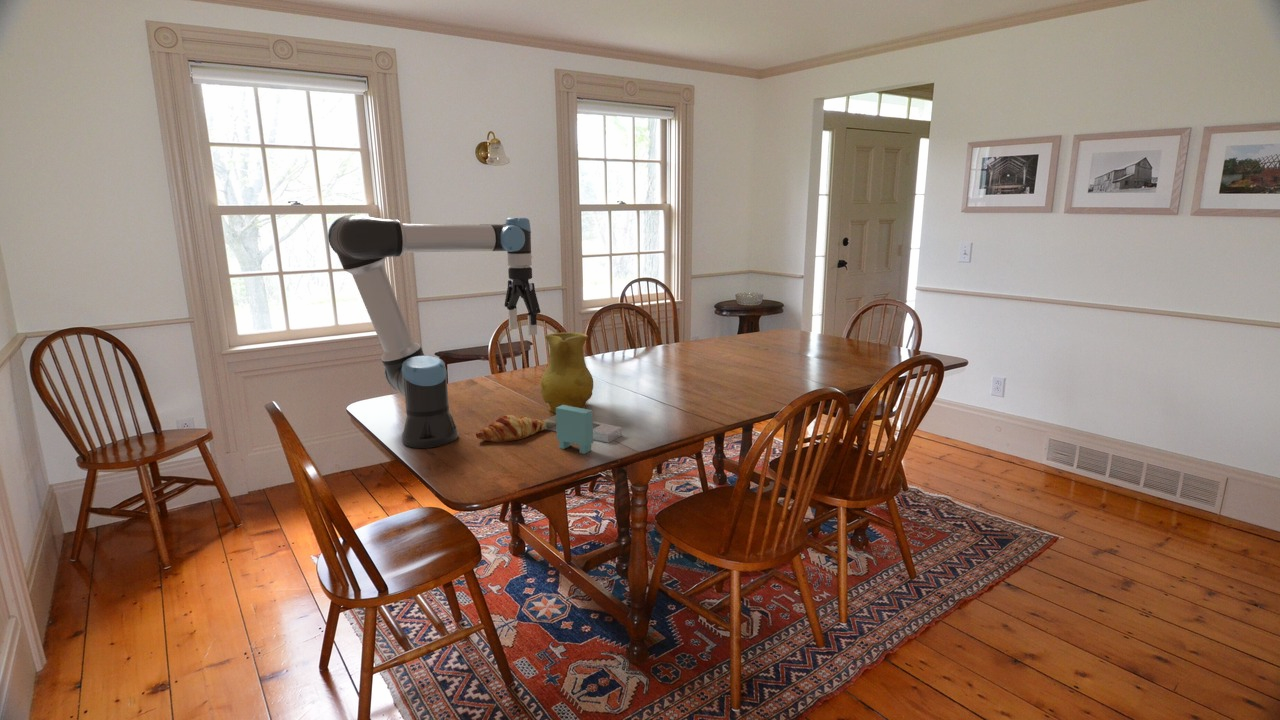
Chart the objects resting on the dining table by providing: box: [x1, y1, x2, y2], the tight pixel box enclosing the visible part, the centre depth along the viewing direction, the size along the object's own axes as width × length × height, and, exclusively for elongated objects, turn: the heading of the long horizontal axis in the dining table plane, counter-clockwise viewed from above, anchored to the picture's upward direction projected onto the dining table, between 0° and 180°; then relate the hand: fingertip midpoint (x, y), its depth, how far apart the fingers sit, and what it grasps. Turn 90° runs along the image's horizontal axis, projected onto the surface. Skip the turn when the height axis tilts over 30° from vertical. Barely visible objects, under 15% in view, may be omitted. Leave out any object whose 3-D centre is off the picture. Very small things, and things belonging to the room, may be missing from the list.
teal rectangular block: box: [555, 405, 594, 455], centre depth 177 cm, size 3×10×12 cm, turn 58°
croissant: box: [475, 414, 547, 443], centre depth 188 cm, size 21×10×8 cm, turn 121°
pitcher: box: [540, 331, 594, 414], centre depth 212 cm, size 17×19×25 cm
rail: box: [542, 414, 623, 444], centre depth 191 cm, size 7×24×2 cm, turn 58°
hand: (522, 331), depth 213 cm, fingers open, 13 cm apart
